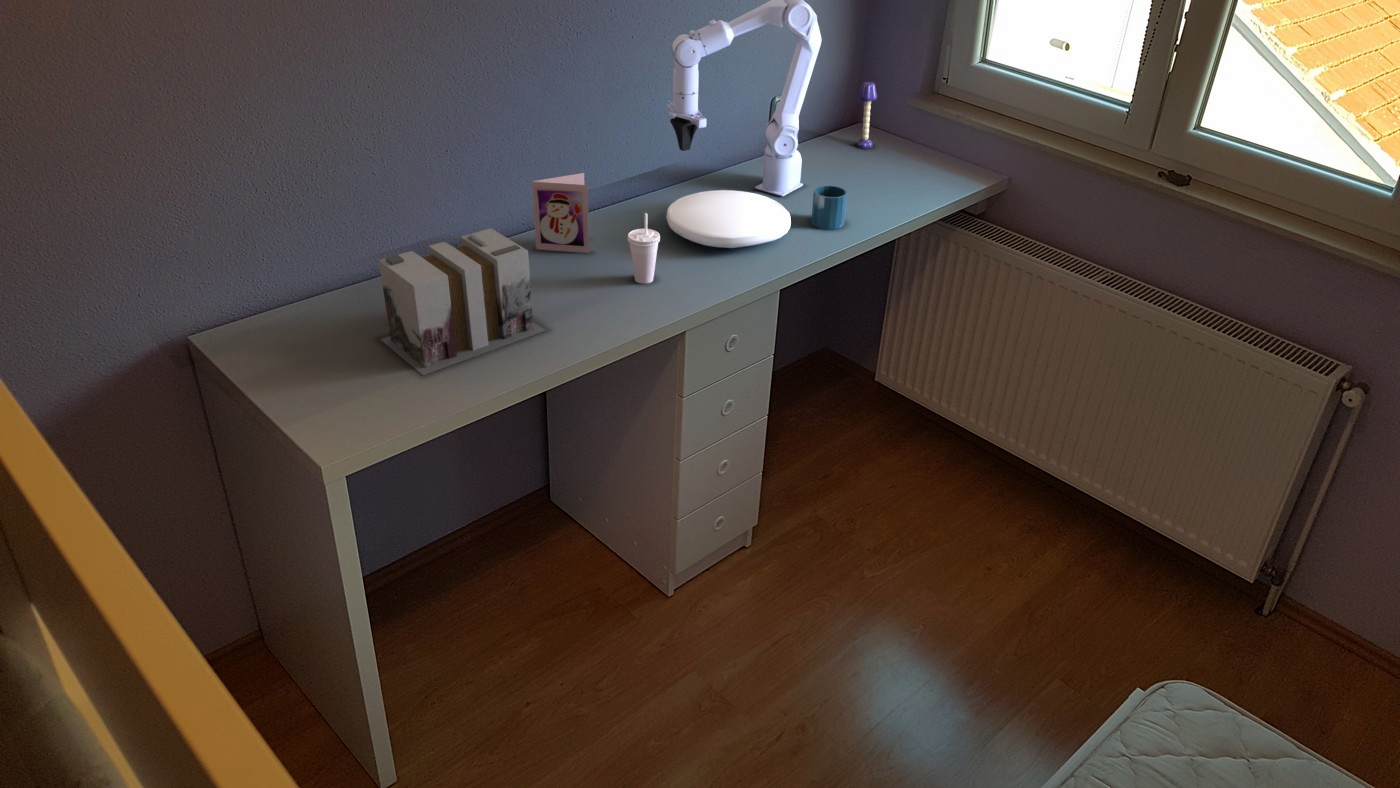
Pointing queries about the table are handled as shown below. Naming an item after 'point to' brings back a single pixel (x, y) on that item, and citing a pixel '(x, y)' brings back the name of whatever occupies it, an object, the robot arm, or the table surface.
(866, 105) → the toy lamp
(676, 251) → the table surface
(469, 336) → the model building
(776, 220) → the white round cushion
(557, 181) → the greeting card
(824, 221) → the teacup
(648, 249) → the smoothie
